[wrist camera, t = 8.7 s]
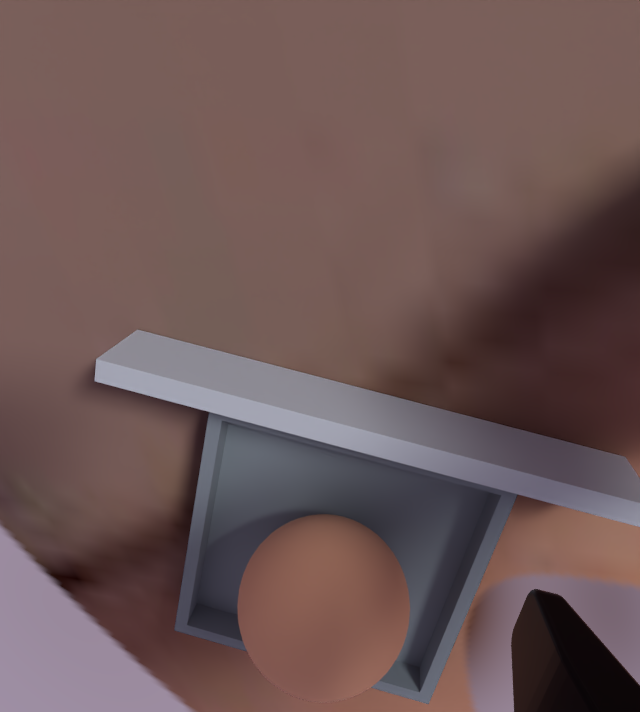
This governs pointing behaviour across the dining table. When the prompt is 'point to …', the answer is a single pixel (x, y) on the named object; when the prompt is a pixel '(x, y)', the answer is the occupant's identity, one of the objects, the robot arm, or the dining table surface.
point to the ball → (323, 608)
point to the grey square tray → (348, 499)
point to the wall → (375, 424)
